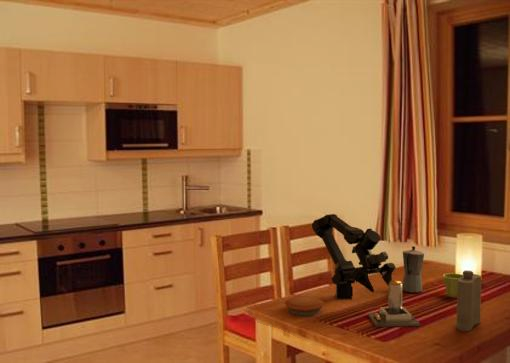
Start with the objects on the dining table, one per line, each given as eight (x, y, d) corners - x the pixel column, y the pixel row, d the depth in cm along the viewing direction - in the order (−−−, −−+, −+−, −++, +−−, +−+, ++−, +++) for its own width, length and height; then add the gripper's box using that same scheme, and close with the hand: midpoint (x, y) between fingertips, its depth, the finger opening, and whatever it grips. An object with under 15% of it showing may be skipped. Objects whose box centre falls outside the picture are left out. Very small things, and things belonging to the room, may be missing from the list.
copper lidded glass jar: (387, 318, 203) (387, 282, 202) (389, 314, 208) (389, 279, 207) (401, 320, 202) (401, 283, 200) (402, 316, 206) (403, 280, 205)
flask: (465, 318, 206) (467, 266, 205) (481, 321, 203) (483, 268, 201) (452, 329, 195) (453, 274, 193) (469, 332, 191) (470, 276, 189)
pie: (302, 303, 227) (302, 291, 227) (331, 311, 216) (331, 299, 215) (276, 311, 216) (276, 299, 216) (306, 321, 205) (306, 308, 205)
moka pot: (426, 287, 248) (427, 244, 246) (419, 296, 234) (420, 251, 232) (405, 285, 252) (405, 242, 250) (397, 294, 238) (397, 249, 237)
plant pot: (441, 297, 233) (442, 277, 232) (443, 291, 242) (443, 272, 241) (465, 299, 229) (465, 279, 229) (465, 293, 238) (466, 274, 237)
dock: (376, 326, 198) (376, 317, 197) (368, 316, 210) (368, 307, 209) (419, 326, 198) (419, 316, 198) (409, 315, 210) (409, 306, 210)
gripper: (355, 247, 210) (373, 282, 201) (393, 242, 218) (411, 276, 209) (343, 263, 217) (359, 297, 209) (380, 258, 226) (397, 291, 217)
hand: (382, 290), depth 211 cm, fingers open, 9 cm apart
